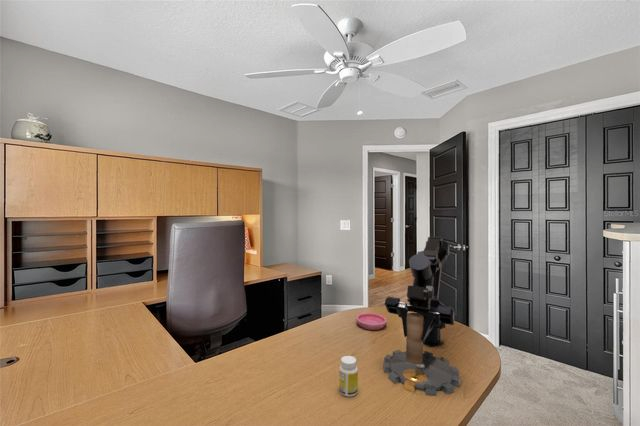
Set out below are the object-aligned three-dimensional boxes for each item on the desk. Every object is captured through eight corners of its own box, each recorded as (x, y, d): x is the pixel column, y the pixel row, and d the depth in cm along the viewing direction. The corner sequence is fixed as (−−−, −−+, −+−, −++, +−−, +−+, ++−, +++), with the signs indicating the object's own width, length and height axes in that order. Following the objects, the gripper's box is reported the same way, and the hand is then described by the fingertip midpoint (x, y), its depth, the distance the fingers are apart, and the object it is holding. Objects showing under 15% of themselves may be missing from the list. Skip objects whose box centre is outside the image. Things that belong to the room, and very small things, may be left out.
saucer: (384, 320, 123) (385, 313, 123) (388, 333, 111) (388, 325, 111) (355, 319, 125) (356, 312, 125) (356, 331, 112) (356, 323, 112)
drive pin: (406, 354, 82) (407, 311, 82) (423, 357, 81) (423, 314, 81) (405, 362, 78) (406, 317, 78) (422, 365, 77) (423, 319, 77)
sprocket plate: (420, 348, 98) (420, 342, 98) (477, 382, 79) (477, 374, 79) (369, 362, 89) (369, 354, 89) (419, 404, 70) (420, 395, 70)
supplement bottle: (359, 388, 76) (359, 356, 76) (355, 399, 72) (356, 365, 72) (341, 384, 78) (342, 353, 78) (337, 394, 73) (337, 362, 73)
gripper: (386, 270, 87) (374, 317, 78) (454, 278, 78) (449, 333, 69) (393, 289, 94) (382, 335, 85) (455, 299, 85) (451, 351, 76)
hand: (413, 338), depth 78 cm, fingers closed on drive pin, 4 cm apart
